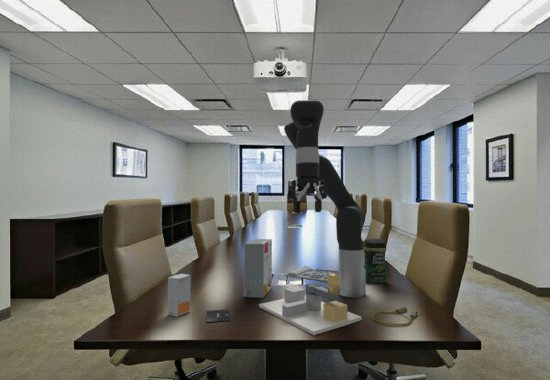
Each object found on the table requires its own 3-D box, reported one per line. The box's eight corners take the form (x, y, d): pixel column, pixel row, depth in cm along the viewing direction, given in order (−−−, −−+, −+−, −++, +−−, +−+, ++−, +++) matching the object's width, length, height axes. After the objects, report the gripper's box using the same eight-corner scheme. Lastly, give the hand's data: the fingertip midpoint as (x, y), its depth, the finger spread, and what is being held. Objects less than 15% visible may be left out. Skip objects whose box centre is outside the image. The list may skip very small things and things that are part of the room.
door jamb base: (303, 297, 125) (302, 280, 125) (361, 320, 102) (361, 300, 102) (259, 307, 115) (259, 289, 115) (313, 335, 91) (313, 313, 92)
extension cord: (432, 324, 100) (432, 317, 100) (384, 330, 96) (384, 323, 96) (407, 311, 111) (407, 304, 111) (363, 315, 108) (363, 309, 108)
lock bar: (302, 290, 111) (302, 267, 111) (314, 288, 113) (314, 266, 113) (331, 302, 98) (330, 276, 99) (344, 299, 101) (343, 274, 101)
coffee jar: (367, 284, 142) (366, 240, 142) (361, 279, 150) (360, 237, 150) (389, 283, 143) (389, 239, 143) (382, 279, 151) (381, 237, 151)
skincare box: (176, 317, 106) (176, 278, 106) (167, 314, 108) (167, 277, 108) (191, 311, 111) (191, 274, 111) (182, 309, 113) (181, 273, 113)
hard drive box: (263, 298, 124) (263, 244, 124) (243, 297, 125) (243, 243, 125) (272, 287, 139) (272, 238, 139) (254, 286, 140) (254, 238, 141)
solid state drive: (228, 311, 112) (228, 309, 112) (230, 322, 102) (230, 320, 102) (206, 312, 111) (206, 310, 111) (206, 324, 101) (206, 321, 101)
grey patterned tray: (283, 271, 158) (303, 264, 175) (283, 277, 158) (303, 269, 175) (329, 277, 146) (346, 268, 162) (329, 283, 146) (346, 274, 162)
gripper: (316, 164, 116) (316, 211, 116) (282, 162, 108) (283, 213, 108) (331, 162, 110) (332, 212, 110) (297, 160, 102) (297, 214, 102)
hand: (307, 212), depth 109 cm, fingers open, 8 cm apart
